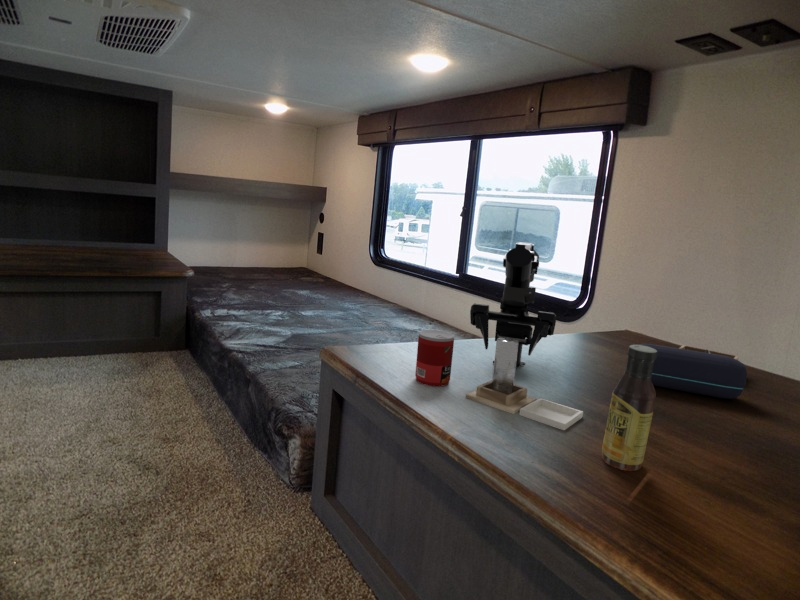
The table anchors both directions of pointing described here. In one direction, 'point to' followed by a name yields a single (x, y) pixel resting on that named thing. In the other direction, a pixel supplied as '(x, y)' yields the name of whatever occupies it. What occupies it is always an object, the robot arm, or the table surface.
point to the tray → (551, 413)
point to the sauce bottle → (631, 411)
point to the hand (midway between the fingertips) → (507, 351)
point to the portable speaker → (698, 372)
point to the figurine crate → (708, 350)
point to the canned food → (434, 357)
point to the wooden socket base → (501, 397)
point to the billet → (504, 365)
